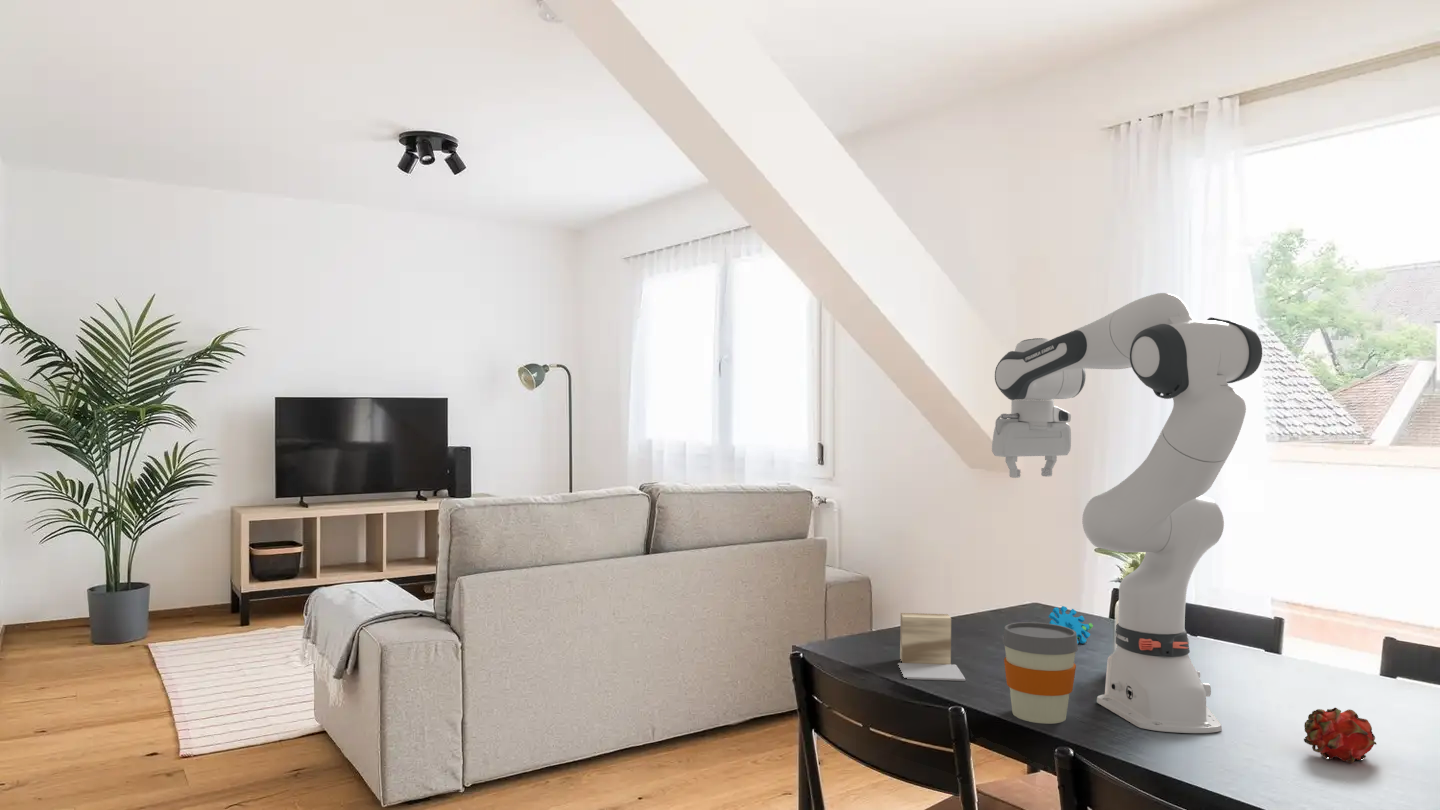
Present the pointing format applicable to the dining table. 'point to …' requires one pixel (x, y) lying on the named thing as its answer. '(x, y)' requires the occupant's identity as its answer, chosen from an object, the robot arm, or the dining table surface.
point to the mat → (931, 671)
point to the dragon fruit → (1339, 734)
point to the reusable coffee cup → (1039, 670)
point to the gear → (1071, 622)
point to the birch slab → (925, 638)
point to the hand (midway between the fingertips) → (1030, 476)
